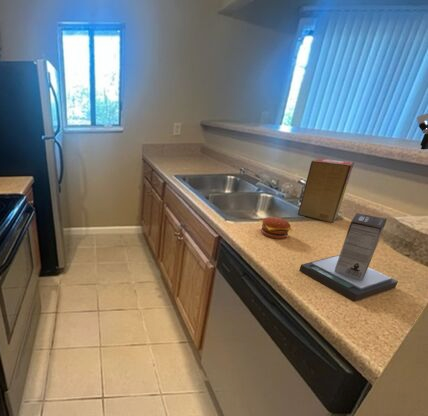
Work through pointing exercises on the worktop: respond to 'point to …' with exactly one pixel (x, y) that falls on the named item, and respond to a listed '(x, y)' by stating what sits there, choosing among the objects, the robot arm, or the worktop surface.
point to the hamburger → (275, 227)
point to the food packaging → (325, 189)
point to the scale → (348, 279)
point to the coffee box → (359, 245)
